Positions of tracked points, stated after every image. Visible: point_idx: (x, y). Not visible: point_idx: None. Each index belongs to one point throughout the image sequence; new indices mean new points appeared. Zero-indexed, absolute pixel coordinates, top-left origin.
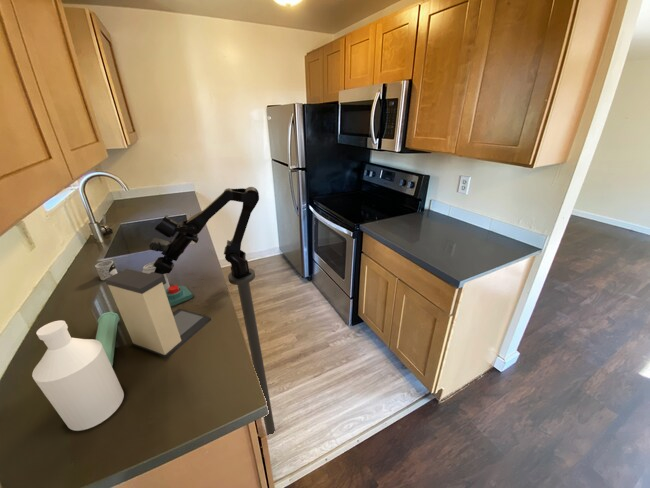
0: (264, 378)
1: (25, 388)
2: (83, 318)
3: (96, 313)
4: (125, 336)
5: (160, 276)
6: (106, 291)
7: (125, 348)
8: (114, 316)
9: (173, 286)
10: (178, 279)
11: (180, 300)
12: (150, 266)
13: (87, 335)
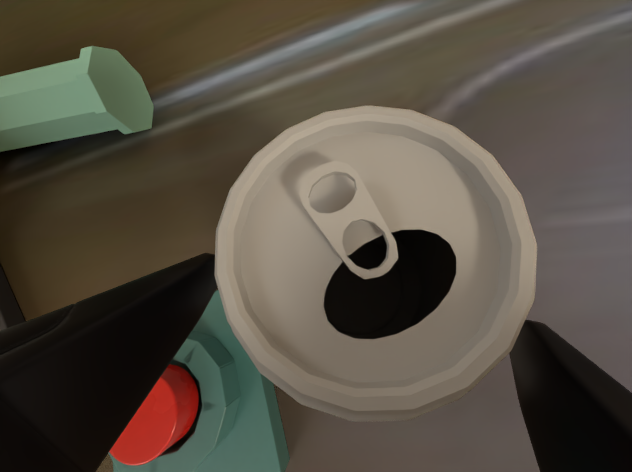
0: None
1: (18, 10)
2: (269, 13)
3: (280, 42)
4: (47, 178)
5: None
6: (482, 18)
7: None
8: (88, 105)
9: (158, 422)
10: (472, 413)
11: None
12: (331, 215)
13: (144, 60)
